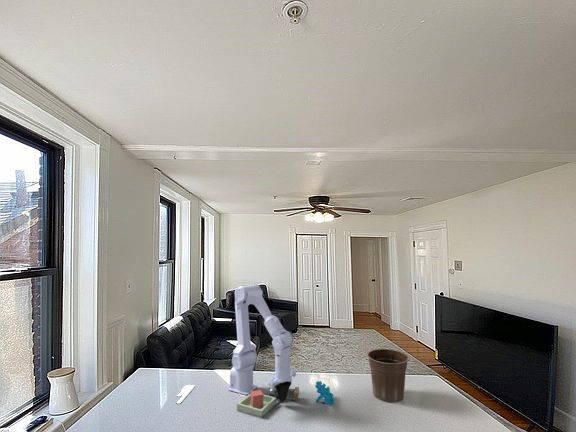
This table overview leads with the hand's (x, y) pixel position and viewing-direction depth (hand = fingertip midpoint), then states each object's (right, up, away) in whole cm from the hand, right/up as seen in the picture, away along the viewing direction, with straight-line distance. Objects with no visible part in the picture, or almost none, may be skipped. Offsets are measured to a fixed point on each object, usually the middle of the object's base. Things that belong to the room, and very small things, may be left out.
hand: (282, 400), depth 130 cm
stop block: (-10, -1, -2) cm, 10 cm away
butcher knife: (-41, -3, +8) cm, 42 cm away
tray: (-10, -2, -1) cm, 10 cm away
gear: (+17, -2, +3) cm, 17 cm away
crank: (0, -1, +5) cm, 5 cm away
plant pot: (+43, -3, +9) cm, 44 cm away
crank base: (-3, -2, +7) cm, 8 cm away
